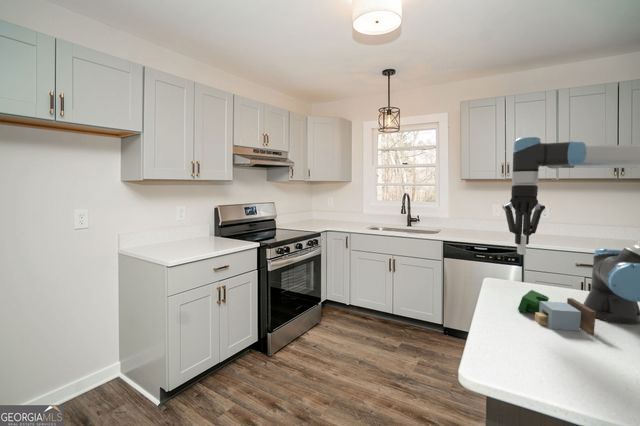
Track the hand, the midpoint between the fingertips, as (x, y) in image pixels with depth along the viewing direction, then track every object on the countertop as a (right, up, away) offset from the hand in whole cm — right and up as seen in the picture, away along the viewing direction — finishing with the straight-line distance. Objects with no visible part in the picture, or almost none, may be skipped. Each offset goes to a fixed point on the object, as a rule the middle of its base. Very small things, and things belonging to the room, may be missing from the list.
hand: (521, 253), depth 115 cm
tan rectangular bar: (+5, -22, -7) cm, 23 cm away
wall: (+13, -22, -8) cm, 27 cm away
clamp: (+7, -21, +4) cm, 23 cm away
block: (+7, -22, -7) cm, 24 cm away
